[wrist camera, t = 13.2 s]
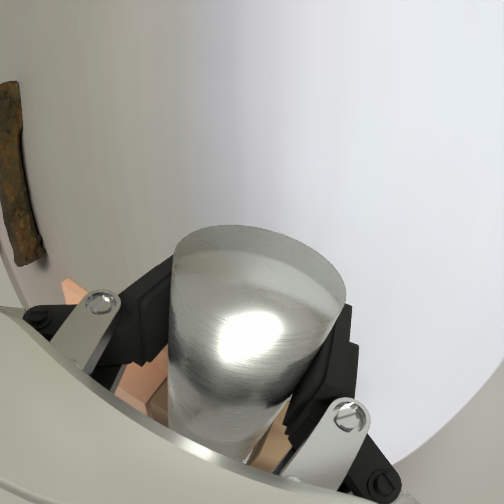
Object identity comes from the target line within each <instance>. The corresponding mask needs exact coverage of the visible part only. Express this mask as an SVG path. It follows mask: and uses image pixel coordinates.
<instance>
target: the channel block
mask: <svg viewBox="0 0 504 504" xmlns="http://www.w3.org/2000/svg"><path fill="white" fill-rule="evenodd" d="M289 403H290V402H289V401H287V402H286V404H285V405H284V407H283V408H282V409H281V411H280V412H279V414H278V415H277V417H276V418H275V419H274V421H273V422H272V424H271V425H270V426H269V428H268V429H267V431H266V432H265V433H264V435H263V436H262V437H261V439H260V440H259V441H258V443H257V444H256V445H255V447H254V448H253V451H252V453H251V455H250V457H249V459H248V461H247V463H246V465H249V466H251V467H254V468H257V469H260V470H263V471H266V472H269V473H270V472H271V471H272V470H273V469H274V468H275V466H276V465H277V464H278V463H279V461H280V460H281V459H282V458H283V456H284V455H285V454H286V453H287V451H288V450H289V449H290V447H291V446H292V445H291V444H290V442H289V440H288V435H285V434H284V433H285V430H286V427H287V426H284V425H282V423H283V420H284V417H285V414H286V411H287V409H288V406H289ZM150 404H151V410H152V416H153V420H155V421H156V422H158V423H160V424H161V425H163V426H165V427H167V428H169V425H168V379H167V380H166V381H165V383H164V384H163V385H162V386H161V388H160V389H159V390H158V391H157V393H156V394H155V395H154V397H153V398H152V399H151V400H150Z"/></svg>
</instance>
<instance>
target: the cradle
mask: <svg viewBox="0 0 504 504" xmlns="http://www.w3.org/2000/svg"><path fill="white" fill-rule="evenodd" d="M62 288H63V292H64V296H65V300H66V304H67V305H69V304H79V302H80V301H81V300H82V298H83V297H84V296H85V295H86V294H87V293H89V292H87V291H86V290H84V289H83V288H82V287H80V286H79V285H77V284H76V283H75V282H73V281H72V280H71V279H69V278H68V279H66V280H65V281H63V282H62ZM167 379H168V344H167V345H166V346H165V347H164V348H163V350H162V351H161V352H160V353H159V354H158V355H157V356H156V358H155V359H154V360H153V361H152V362H150V363H149V362H146V363H145V364H144V365H143V367H141V366H139V365H137V364H136V363H134V362H132V363H131V364H127V367H126V369H125V372H124V374H123V376H122V378H121V380H120V383H119V385H118V387H117V389H116V392H115V395H116V396H117V397H119V398H120V399H121V400H123V401H124V402H126V403H127V404H129V405H130V406H132V407H133V408H135V409H137V410H138V411H140V412H141V413H143V414H145V415H146V416H148V417H150V418H151V419H152V418H153V416H152V410H151V404H150V400H151V399H152V398H153V397H154V395H155V394H156V393H157V391H158V390H159V389H160V388H161V386H162V385H163V384H164V383H165V381H166V380H167Z"/></svg>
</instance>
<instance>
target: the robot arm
mask: <svg viewBox="0 0 504 504" xmlns="http://www.w3.org/2000/svg"><path fill="white" fill-rule="evenodd" d="M173 255H174V254H173ZM173 255H172V256H171V257H169V258H168V259H166V260H165V261H164V262H162V263H161V264H160V265H158V266H156V267H154V268H153V269H152V270H150V271H149V272H148V273H146V274H145V275H144V276H142V277H141V278H140V279H138V280H137V281H136V282H134V283H133V284H132V285H130V286H129V287H128V288H127V289H125V290H124V291H123V292H121V293H120V294H119V295H117V294H116V293H114V292H112V291H110V290H105V289H99V290H94V291H91V292H89V293H87V294H86V295H85V296H84V297H83V298H82V300H81V301H80V302H79V304H69V305H39V306H34V307H32V308H30V309H29V310H27V311H26V309H24V308H13V307H4V306H0V504H420V503H419V502H418V501H417V500H416V499H415V498H414V497H413V496H412V495H411V494H410V493H409V492H408V491H406V492H403V491H402V490H401V487H402V484H401V479H400V477H399V475H398V473H397V472H396V470H395V469H394V468H393V467H392V465H391V464H390V463H389V461H388V460H387V459H386V457H385V456H384V455H383V453H382V452H381V451H380V449H379V448H378V447H377V445H376V444H375V443H374V441H373V440H372V439H371V437H370V436H369V435H368V433H367V432H368V430H369V428H370V423H371V419H370V414H369V412H368V410H367V409H366V407H365V406H364V405H363V404H362V403H360V402H359V401H357V400H355V399H354V397H355V388H356V379H357V368H358V355H359V346H358V345H357V344H354V343H352V342H349V339H350V328H351V316H352V306H351V305H348V304H346V303H345V304H344V307H343V308H342V310H341V312H340V314H339V316H338V318H337V320H336V321H335V323H334V325H333V327H332V329H331V331H330V332H329V334H328V336H327V338H326V339H325V341H324V343H323V345H322V346H321V348H320V350H319V351H318V353H317V355H316V356H315V358H314V360H313V361H312V363H311V365H310V366H309V368H308V370H307V371H306V373H305V374H304V376H303V378H302V379H301V381H300V382H299V384H298V385H297V387H296V389H295V390H294V392H293V394H292V397H291V400H290V403H289V406H288V409H287V411H286V414H285V417H284V420H283V423H282V425H284V426H287V427H286V430H285V433H284V434H285V435H288V440H289V442H290V444H291V445H292V446H291V447H290V449H289V450H288V451H287V453H286V454H285V455H284V456H283V458H282V459H281V460H280V461H279V463H278V464H277V465H276V466H275V468H274V469H273V470H272V471H271V472H270V473H269V472H266V471H263V470H260V469H257V468H254V467H251V466H249V465H246V464H243V463H241V462H238V461H236V460H233V459H231V458H228V457H226V456H224V455H221V454H219V453H217V452H215V451H212V450H210V449H208V448H206V447H204V446H202V445H200V444H197V443H195V442H193V441H191V440H189V439H187V438H185V437H183V436H182V435H180V434H178V433H176V432H174V431H172V430H170V429H169V428H167V427H165V426H163V425H161V424H160V423H158V422H156V421H155V420H153V419H151V418H150V417H148V416H146V415H145V414H143V413H141V412H140V411H138V410H137V409H135V408H133V407H132V406H130V405H129V404H127V403H126V402H124V401H123V400H121V399H120V398H119V397H117V396H116V395H114V394H115V392H116V389H117V387H118V385H119V383H120V380H121V378H122V376H123V374H124V372H125V369H126V367H127V364H131V363H132V362H134V363H136V364H137V365H139V366H141V367H143V365H144V364H145V363H146V362H149V363H150V362H152V361H153V360H154V359H155V358H156V356H157V355H158V354H159V353H160V352H161V351H162V350H163V348H164V347H165V346H166V345H167V344H168V329H169V308H170V291H171V277H172V265H173Z"/></svg>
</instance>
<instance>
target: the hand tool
mask: <svg viewBox="0 0 504 504" xmlns="http://www.w3.org/2000/svg"><path fill="white" fill-rule="evenodd" d="M22 130H23V119H22V108H21V99H20V92H19V87H18V82H17V81H8V82H4V83H2V84H0V201H1V206H2V210H3V219H4V224H5V226H6V229H7V233H8V237H9V240H10V243H11V245H12V248H13V252H14V262H15V263H16V264H17V266H19V267H21V266H24V265H28V264H30V263H32V262H34V261H35V260H37V259H39V258H40V257H41V256H42V255H43V254H45V252H46V250H45V249H44V248H43V247H42V246H41V236H39V235H38V234H37V231H36V227H35V224H34V220H33V217H32V213H31V209H30V205H29V200H28V195H27V189H26V184H25V179H24V172H23V167H22V161H21V154H20V134H21V132H22Z"/></svg>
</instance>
